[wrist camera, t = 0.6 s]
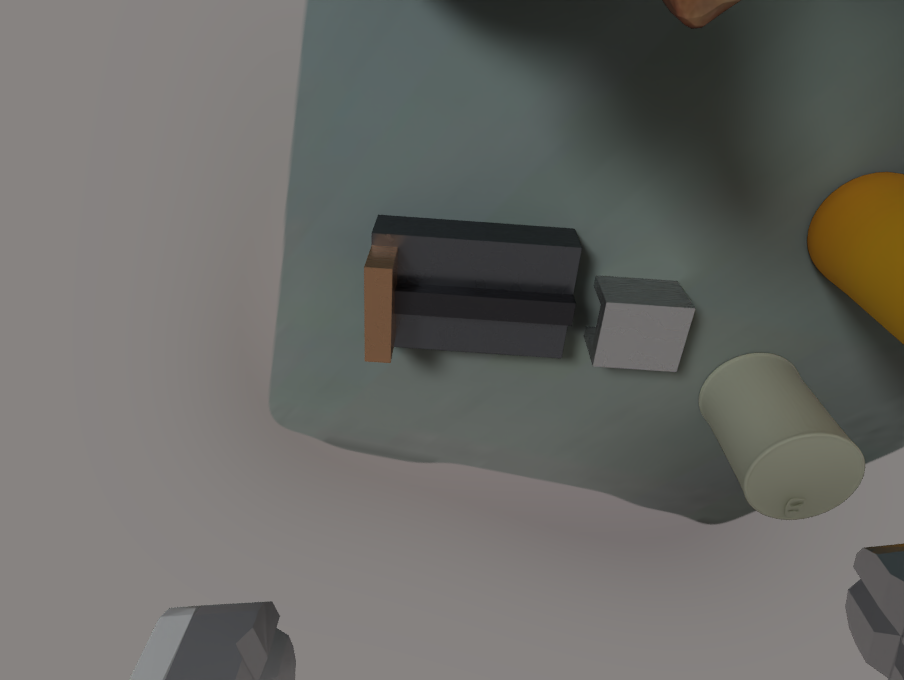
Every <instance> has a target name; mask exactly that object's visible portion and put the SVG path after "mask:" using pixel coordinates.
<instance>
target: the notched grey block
mask: <svg viewBox="0 0 904 680" xmlns="http://www.w3.org/2000/svg"><path fill="white" fill-rule="evenodd" d="M594 288H595V291H596V293H597V296H598V299H599V301H600V304H601V306H600V311H599V316H598V320H597V325H596V327H590V326H585V331H584V339H585V342H586V346H587V349H588V352H589V355H590V359H591V362H592V365H593V366H596V367H611V368H625V369H640V370H655V371H669V372H677V368H678V365H679V362H680V358H681V355H682V352H683V348H684V345H685V342H686V339H687V335H688V332H689V329H690V325H691V322H692V319H693V315H694V312H695V309H696V308H695V307H694V305H693V304H692V302H691V301H690V299H689V298H688V296H687V295H686V293H685V292H684V290H683V289H682V287H681V285H680V284H679V282H678V281H671V280H657V279H643V278H629V277H614V276H600V275H596V276H595V281H594Z"/></svg>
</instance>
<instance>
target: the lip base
mask: <svg viewBox="0 0 904 680" xmlns="http://www.w3.org/2000/svg"><path fill="white" fill-rule="evenodd" d="M581 250H582V247H581V244H580V242H579V239H578V237H577V234H576V232H575V229H570V228H556V227H542V226H528V225H514V224H500V223H486V222H472V221H458V220H444V219H430V218H416V217H402V216H388V215H378V217H377V220H376V222H375V225H374V228H373V231H372V246H371V249H370V252H369V255H368V258H367V261H366V264H365V266H364V300H365V361H368V362H383V363H391V358H392V353H393V348H394V347H404V348H418V349H433V350H448V351H462V352H477V353H492V354H506V355H521V356H535V357H550V358H562V353H563V347H564V342H565V337H566V331H567V326H572V322H573V317H574V311H575V306H576V302H575V299H574V296H573V293H574V288H575V282H576V277H577V272H578V266H579V261H580V255H581Z"/></svg>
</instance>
